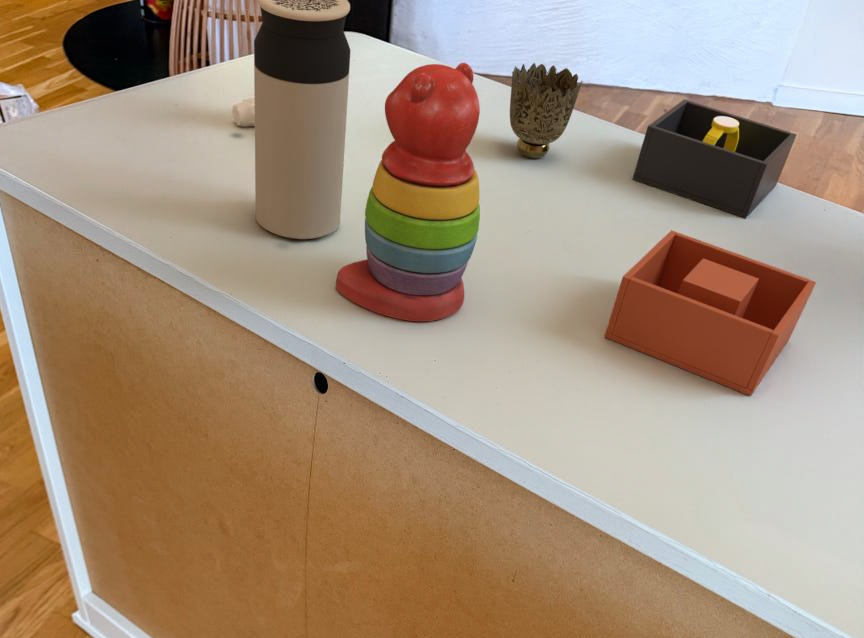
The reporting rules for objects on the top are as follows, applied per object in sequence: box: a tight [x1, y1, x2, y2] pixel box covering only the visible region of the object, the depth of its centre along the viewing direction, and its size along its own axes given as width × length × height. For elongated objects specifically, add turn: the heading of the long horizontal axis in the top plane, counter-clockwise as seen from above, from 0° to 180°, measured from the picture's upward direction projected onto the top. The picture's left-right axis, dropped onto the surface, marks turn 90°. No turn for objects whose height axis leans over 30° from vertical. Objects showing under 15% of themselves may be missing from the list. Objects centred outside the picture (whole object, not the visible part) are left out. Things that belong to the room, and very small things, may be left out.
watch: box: [702, 116, 739, 152], centre depth 100 cm, size 6×3×6 cm, turn 133°
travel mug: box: [253, 0, 351, 240], centre depth 80 cm, size 8×8×18 cm
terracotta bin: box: [604, 229, 817, 397], centre depth 78 cm, size 13×11×6 cm
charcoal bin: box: [632, 99, 797, 219], centre depth 101 cm, size 13×11×6 cm
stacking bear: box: [335, 62, 481, 322], centre depth 74 cm, size 11×10×18 cm
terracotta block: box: [678, 259, 759, 318], centre depth 78 cm, size 5×5×5 cm
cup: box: [509, 62, 584, 159], centre depth 100 cm, size 8×7×8 cm
